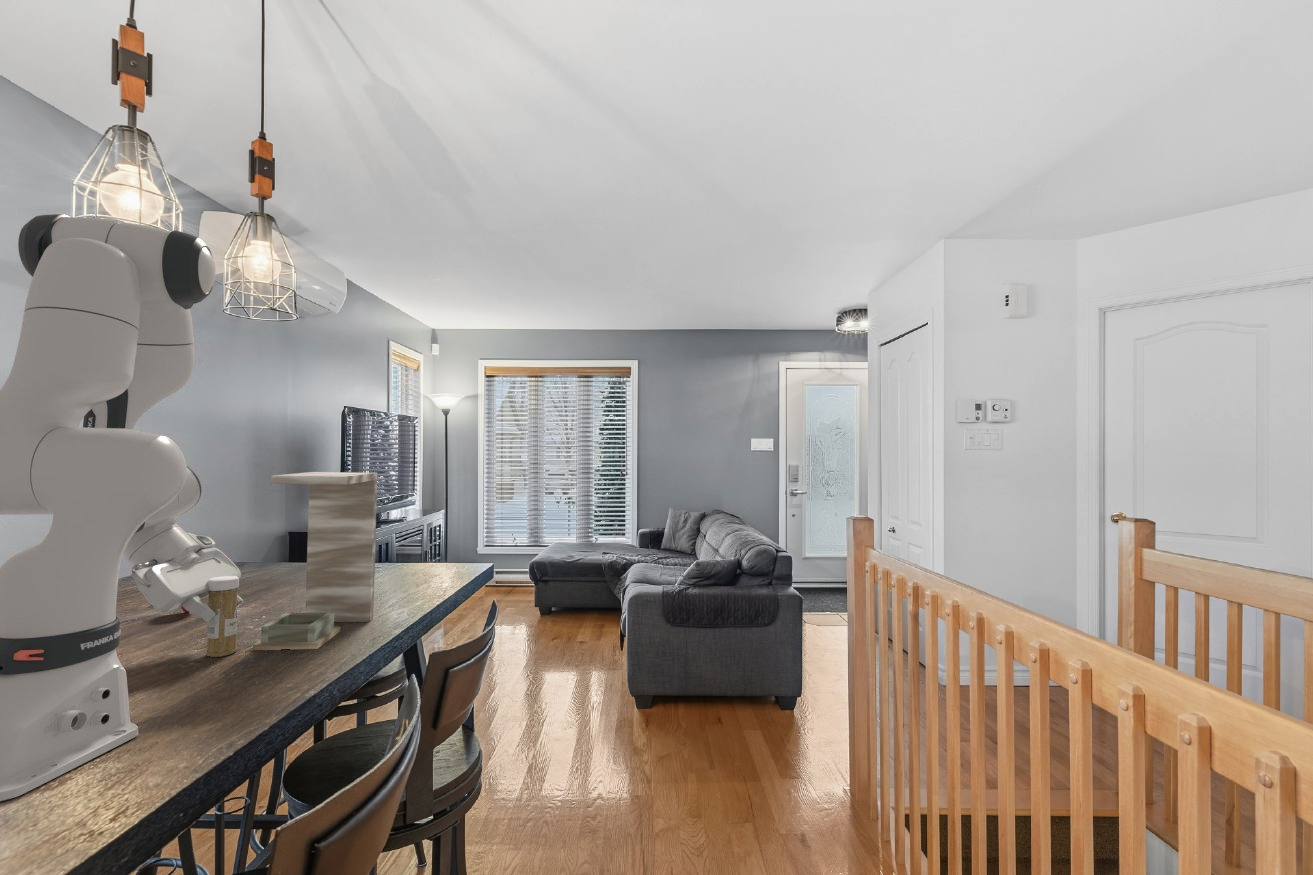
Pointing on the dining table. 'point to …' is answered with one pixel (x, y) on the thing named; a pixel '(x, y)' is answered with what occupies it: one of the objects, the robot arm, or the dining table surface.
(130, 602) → the dining table surface
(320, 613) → the awning socket
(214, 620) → the sprinkles bottle
